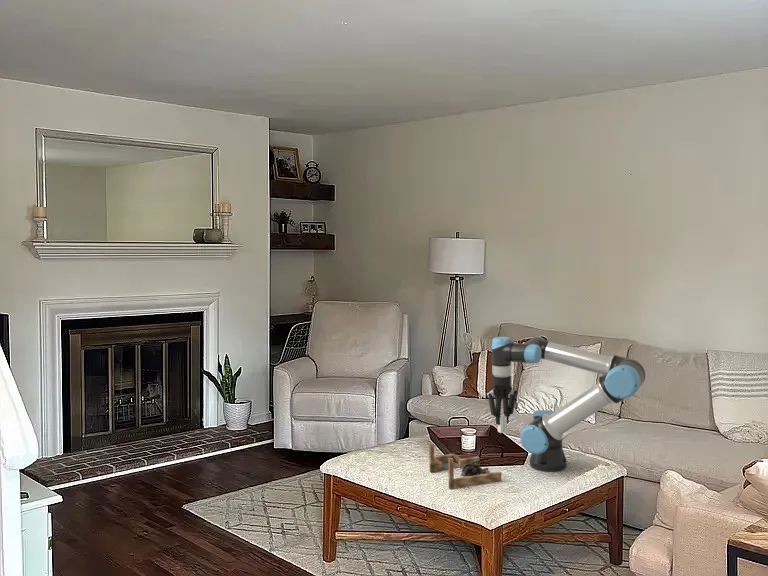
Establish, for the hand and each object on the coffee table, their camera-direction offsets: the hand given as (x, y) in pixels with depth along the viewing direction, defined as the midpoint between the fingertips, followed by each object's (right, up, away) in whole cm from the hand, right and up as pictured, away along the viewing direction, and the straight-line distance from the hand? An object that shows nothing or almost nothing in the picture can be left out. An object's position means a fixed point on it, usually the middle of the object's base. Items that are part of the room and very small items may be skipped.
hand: (502, 431), depth 315 cm
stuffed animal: (-11, -18, -2) cm, 21 cm away
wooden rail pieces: (-17, -17, 0) cm, 24 cm away
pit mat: (-22, -16, +8) cm, 28 cm away
